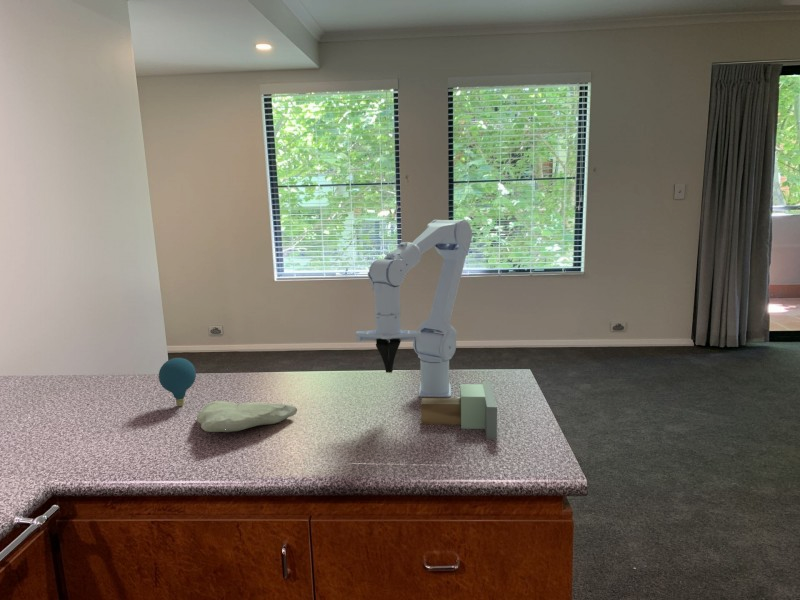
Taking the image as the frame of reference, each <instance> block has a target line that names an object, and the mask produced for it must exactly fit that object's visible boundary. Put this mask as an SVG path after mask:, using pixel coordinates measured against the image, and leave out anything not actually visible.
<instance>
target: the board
mask: <svg viewBox="0 0 800 600" xmlns="http://www.w3.org/2000/svg"><path fill="white" fill-rule="evenodd" d="M481 384H483V388H484V393H485V429H484V431H485V436H486V440H498V405H497V402H496V396H495V393H494V390H493V385H492V381H489V380H487V381H484V380H482V381H481Z"/></svg>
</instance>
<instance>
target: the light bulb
mask: <svg viewBox="0 0 800 600" xmlns="http://www.w3.org/2000/svg"><path fill="white" fill-rule="evenodd" d="M196 377H197V371H196V368H195V366H194V364H193V363H192V362H191V361H190V360H188V359H186V358H183V357H174V358H171V359H168V360H167V361H165V362H164V363H163V364H162V365H161V367H160V368H159V371H158V382H159V383H160V385H161V387H163V389H165V390H166V391H168V392H170V393H171V394H172V395H173V398H175V403H176V405H177V406H179V407H181V406H183V405H184V404H185V397H186V392H187V391H188V390H189V389H190V388H191V387H192V386H193V384H194V382H196Z"/></svg>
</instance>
